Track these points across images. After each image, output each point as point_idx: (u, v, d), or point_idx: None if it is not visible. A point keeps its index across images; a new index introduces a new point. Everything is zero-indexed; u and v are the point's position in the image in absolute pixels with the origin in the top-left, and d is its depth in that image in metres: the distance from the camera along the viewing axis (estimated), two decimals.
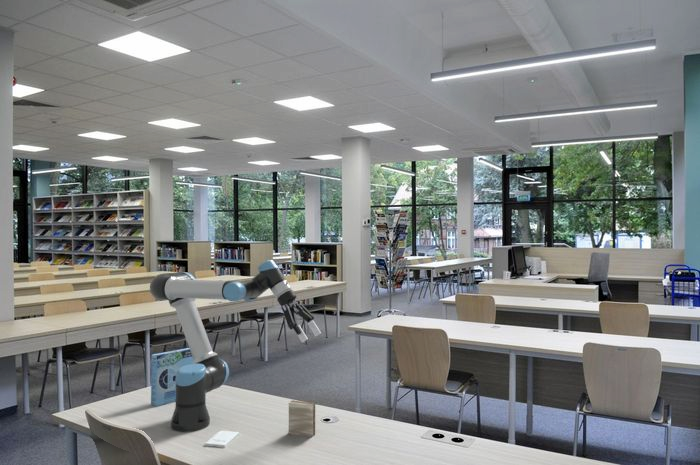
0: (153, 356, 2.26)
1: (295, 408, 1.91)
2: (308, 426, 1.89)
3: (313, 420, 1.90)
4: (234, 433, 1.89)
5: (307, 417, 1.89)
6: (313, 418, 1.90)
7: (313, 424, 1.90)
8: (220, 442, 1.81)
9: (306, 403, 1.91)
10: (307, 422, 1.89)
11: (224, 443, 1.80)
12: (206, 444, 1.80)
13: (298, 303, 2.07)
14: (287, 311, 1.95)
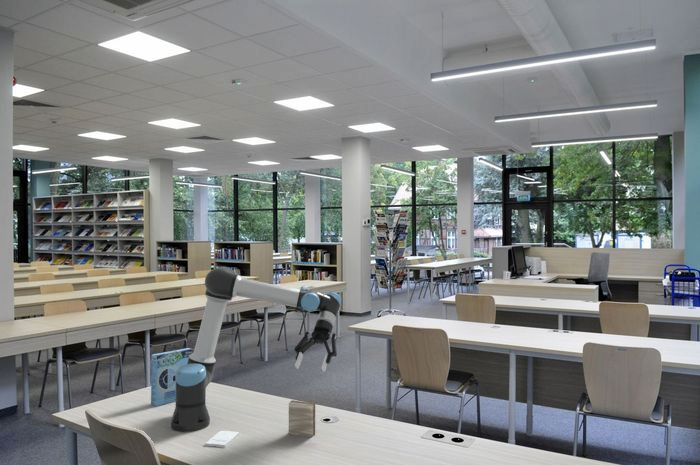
0: (153, 356, 2.26)
1: (295, 408, 1.91)
2: (308, 426, 1.89)
3: (313, 420, 1.90)
4: (234, 433, 1.89)
5: (307, 417, 1.89)
6: (313, 418, 1.90)
7: (313, 424, 1.90)
8: (220, 442, 1.81)
9: (306, 403, 1.91)
10: (307, 422, 1.89)
11: (224, 443, 1.80)
12: (206, 444, 1.80)
13: None
14: (335, 342, 2.06)
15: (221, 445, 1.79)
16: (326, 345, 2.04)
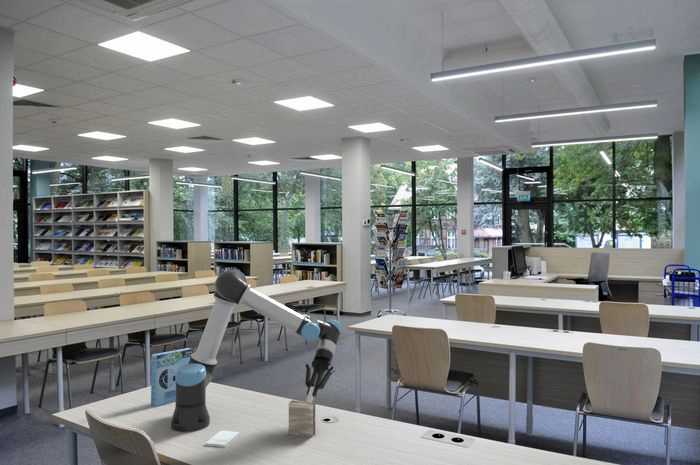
0: (153, 356, 2.26)
1: (295, 408, 1.91)
2: (308, 426, 1.89)
3: (313, 420, 1.90)
4: (234, 433, 1.90)
5: (307, 417, 1.89)
6: (313, 418, 1.90)
7: (313, 424, 1.90)
8: (220, 442, 1.81)
9: (306, 403, 1.91)
10: (307, 422, 1.89)
11: (224, 443, 1.80)
12: (206, 444, 1.80)
13: None
14: (329, 375, 2.05)
15: (221, 445, 1.79)
16: (318, 376, 2.04)
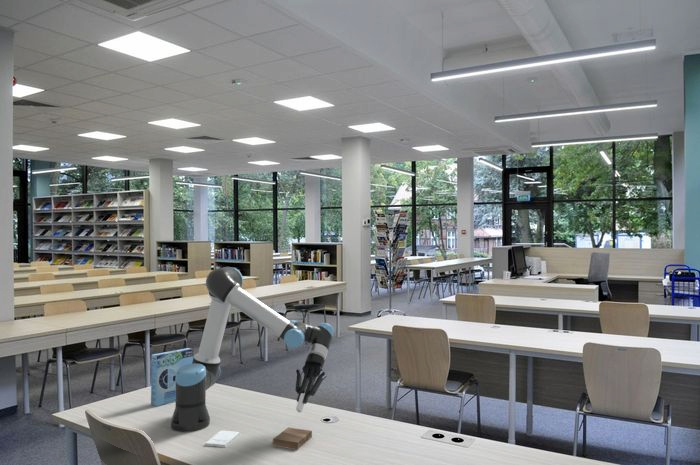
0: (153, 356, 2.26)
1: None
2: None
3: (305, 440, 1.83)
4: (234, 433, 1.90)
5: None
6: (304, 441, 1.82)
7: (306, 439, 1.84)
8: (220, 442, 1.81)
9: (290, 445, 1.78)
10: None
11: (224, 443, 1.80)
12: (206, 444, 1.80)
13: None
14: (321, 381, 1.97)
15: (221, 445, 1.79)
16: (309, 382, 1.95)
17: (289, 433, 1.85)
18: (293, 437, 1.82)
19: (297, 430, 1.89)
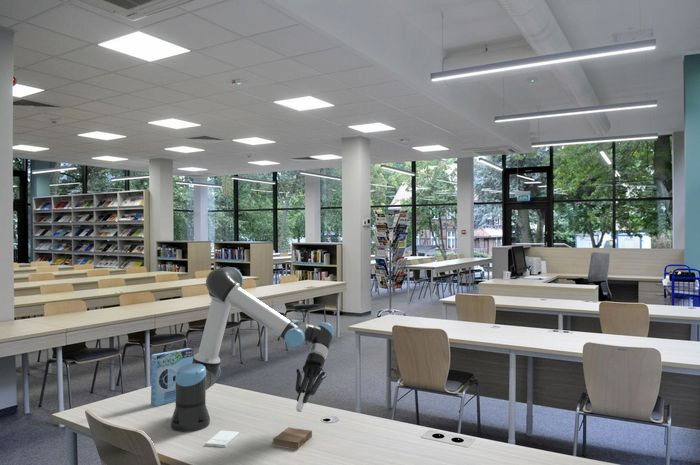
0: (153, 356, 2.26)
1: None
2: None
3: (305, 440, 1.83)
4: (234, 433, 1.90)
5: None
6: (304, 441, 1.82)
7: (307, 439, 1.84)
8: (220, 442, 1.81)
9: (290, 445, 1.78)
10: None
11: (224, 443, 1.80)
12: (206, 444, 1.80)
13: None
14: (321, 381, 1.97)
15: (221, 445, 1.79)
16: (309, 382, 1.95)
17: (289, 433, 1.85)
18: (293, 437, 1.82)
19: (297, 430, 1.89)
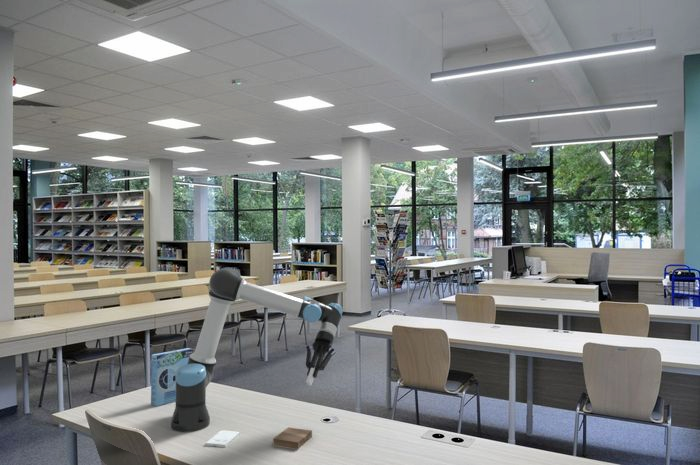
0: (153, 356, 2.26)
1: None
2: None
3: (305, 440, 1.83)
4: (234, 433, 1.90)
5: None
6: (304, 441, 1.82)
7: (307, 439, 1.84)
8: (220, 442, 1.81)
9: (290, 445, 1.78)
10: None
11: (224, 443, 1.80)
12: (206, 444, 1.80)
13: None
14: (330, 357, 2.06)
15: (221, 445, 1.79)
16: (319, 358, 2.04)
17: (289, 433, 1.85)
18: (293, 436, 1.82)
19: (297, 430, 1.89)
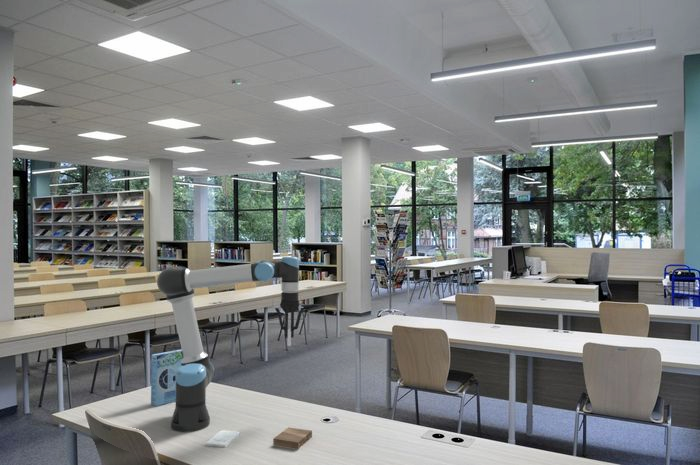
0: (153, 356, 2.26)
1: None
2: None
3: (305, 440, 1.83)
4: (235, 433, 1.90)
5: None
6: (304, 441, 1.82)
7: (307, 439, 1.84)
8: (220, 442, 1.81)
9: (290, 445, 1.78)
10: None
11: (224, 443, 1.80)
12: (207, 444, 1.80)
13: None
14: None
15: (221, 445, 1.79)
16: (292, 319, 2.18)
17: (289, 433, 1.85)
18: (293, 437, 1.82)
19: (297, 430, 1.89)
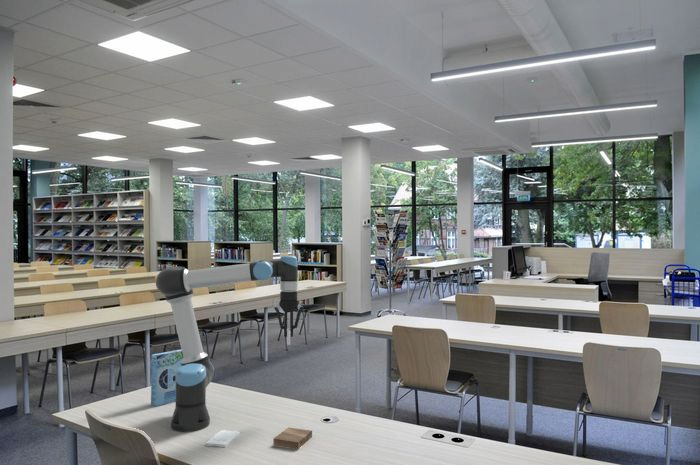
0: (153, 356, 2.26)
1: None
2: None
3: (305, 440, 1.83)
4: (235, 433, 1.90)
5: None
6: (304, 441, 1.82)
7: (307, 439, 1.84)
8: (220, 442, 1.81)
9: (290, 445, 1.78)
10: None
11: (224, 443, 1.80)
12: (207, 444, 1.81)
13: None
14: None
15: (221, 445, 1.79)
16: (291, 318, 2.18)
17: (289, 433, 1.85)
18: (293, 436, 1.82)
19: (297, 430, 1.89)
